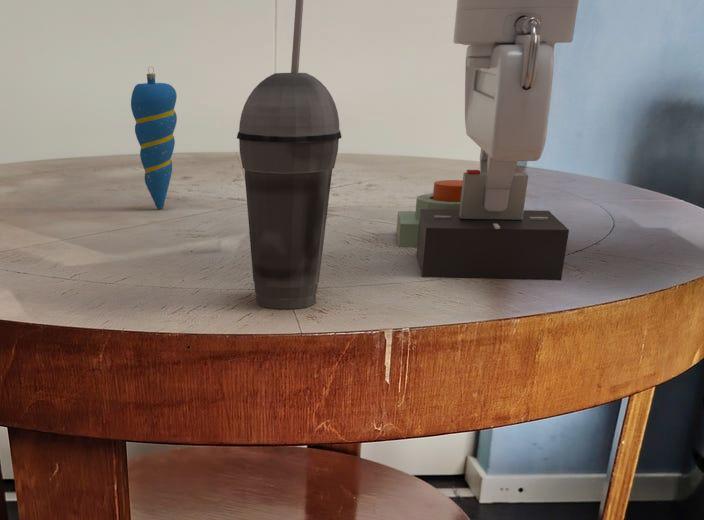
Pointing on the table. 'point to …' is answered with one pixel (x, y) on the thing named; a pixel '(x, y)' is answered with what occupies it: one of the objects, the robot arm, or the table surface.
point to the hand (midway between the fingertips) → (491, 207)
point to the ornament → (155, 133)
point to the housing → (417, 219)
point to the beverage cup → (288, 180)
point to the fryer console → (491, 246)
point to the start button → (448, 190)
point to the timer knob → (475, 193)
